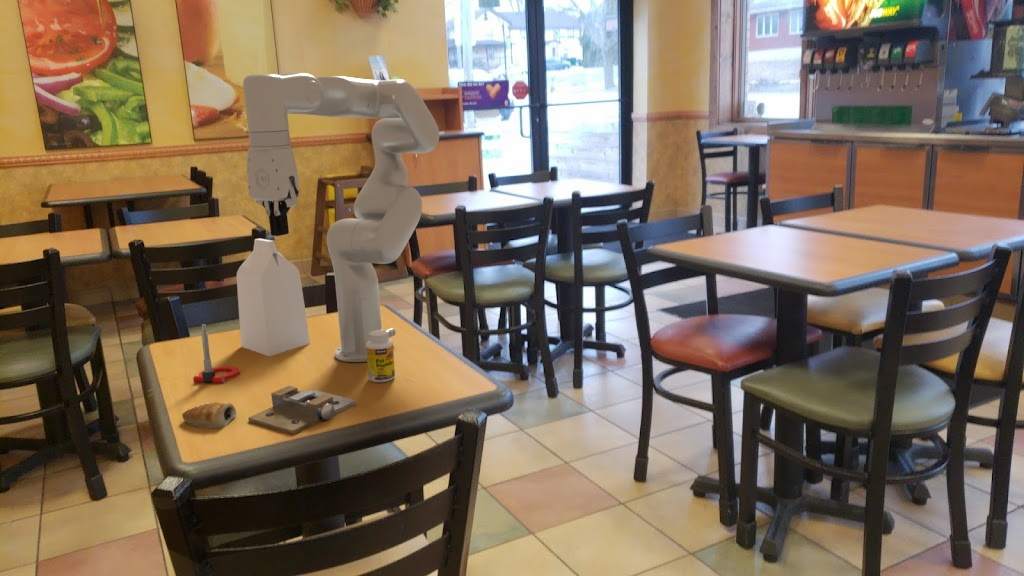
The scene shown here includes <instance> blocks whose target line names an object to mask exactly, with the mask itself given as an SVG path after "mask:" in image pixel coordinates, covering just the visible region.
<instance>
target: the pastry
mask: <svg viewBox="0 0 1024 576" xmlns="http://www.w3.org/2000/svg"><path fill="white" fill-rule="evenodd" d="M236 416H237V409H236V407H235V406H234V405H233V404H232V403H231V402H227V403H224V402H218V401H216V402H214V401H213V402H210V403H204V404H200V405H199V406H194V407H191V408H189V409H187V410H185V411H184V412H183V413H182V419H183V421H184V422H185V423H186V424H187V423H188V425H192V426H194V427H196V428H207V429H222V428H223V427H226V426H227V425H228V424H229V423H230V422H231V421H232V420H233V419H234V418H235V417H236Z"/></svg>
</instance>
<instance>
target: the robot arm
mask: <svg viewBox="0 0 1024 576" xmlns="http://www.w3.org/2000/svg"><path fill="white" fill-rule="evenodd" d="M242 81H243V82H242V88H243V97H244V104H245V112H246V113H245V114H246V123H247V132H248V140H249V148H248V149H247V158H246V160H247V161H246V169H247V170H246V174H247V187H248V188H247V189H248V195H249V197H250V198H251V199H252V200H255V202H256V204H258V205H260V206H262V207H263V208H264V209H265V214H266V215H267V216H268V223H269V230H270V235H271V236H273V237H281V236H285V235H288V234H289V232H290V231H289V220H288V214H289V213H290V209H291V207H292V208H293V207H295V206H297V205H298V200H297V198H298V197H299V195H300V181H299V173H298V168H297V163H296V159H295V154H294V151H293V148H292V147H291V146H292V145H291V137H290V127H289V126H290V125H289V117H288V115H289V114H290V115H311V116H318V117H319V116H320V117H326V118H327V117H328V118H329V117H331V118H332V117H333V118H355V119H356V118H357V119H371V120H372V119H373V120H374V119H376V120H377V119H379V120H377V121H376V122H375V124H374V125H373V127H372V130H371V142H372V147H373V153H374V160H375V162H374V163H375V164H374V167H373V170H372V171H371V173H370V175H369V177H368V178H367V180H366V181H365V183H364V185H363V186H362V188H361V190H360V191H359V193H358V194H357V196H356V199H355V201H354V204H353V213H354V216H355V217H356V218H352V217H351V218H350V217H348V218H342V219H339V220H337V221H335V222H333V223H332V224H331V226H330V227H329V229H328V230H327V234H326V246H327V247H326V248H327V249H328V253H329V256H330V260H331V264H332V268H333V274H334V281H335V292H336V293H335V295H336V302H337V303H336V304H337V314H338V317H337V318H338V327H339V337H340V346H338V347H337V348H336V349H335V350H334V356H335V359H337V360H339V361H342V362H348V363H363V362H366V363H367V351H366V343H367V342H368V341H370V340H369V333H370V332H372V331H376V330H383V329H382V317H381V316H382V315H381V302H380V292H379V279H378V275H377V272H376V269H375V267H374V265H373V264H380V265H381V264H382V265H383V264H384V265H385V264H386V265H387V264H392V263H393V262H395V261H396V260H397V259H398V258H399V257H400V256H401V254H403V251H404V249H405V248H406V246H407V244H408V242H409V240H410V238H411V237H412V235H413V233H414V231H415V230H416V228H417V226H418V224H419V222H420V220H421V218H422V217H421V215H422V212H423V202H422V201H423V200H422V198H421V197H422V196H421V194H420V193H419V191H418V190H417V189H416V188H414V187H413V186H410V185H408V181H409V172H408V168H407V167H406V165H405V163H404V161H403V157H402V154H427V153H428V154H429V153H430V152H432V151H434V150H435V149H436V148H437V146H438V145H439V141H440V130H439V126H438V124H437V122H436V120H435V118H434V117H433V114H432V113H431V111H430V110H429V108H428V107H427V104H426V103H425V102H424V99H423V98H422V96H421V95H420V94H419V92H418V91H417V89H416V88H414V86H413V85H412V84H411V83H409V82H408V81H407V80H404V79H397V78H396V79H368V78H367V79H366V78H357V77H350V76H343V75H342V76H341V75H340V76H337V75H332V76H331V75H330V76H319V77H315V76H314V75H312V74H309V73H306V72H291V73H290V72H287V73H286V72H285V73H270V74H268V73H267V74H264V73H263V74H262V73H261V74H259V73H258V74H251V75H247V76H245V77H244V79H243V80H242ZM386 331H388V335H389V339H390V338H392V337H394V336H395V335H396V330H395V328H393V327H392V328H388V329H386Z"/></svg>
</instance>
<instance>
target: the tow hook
mask: <svg viewBox="0 0 1024 576" xmlns="http://www.w3.org/2000/svg"><path fill="white" fill-rule="evenodd" d="M201 332H202V334H201V342H202V351H203V369H204V370H202V371H200V372H199V374H198V375H194V376H193V382H194V383H197V384H198V383H200V384H201V383H202V384H212V385H213V384H225V383H226V380H227V381H228V380H230V379H233V378H235V377H238V376H239V375H240V374H241V371H240V368H239V367H237V366H231V365H230V366H227V365H226V366H224V365H223V366H216V367H212V359H211V355H210V354H211V353H210V345H209V337H208V336H209V335H208V333H207V326H206V324H205V323H202V324H201ZM220 372H228V373H226V374H222V375H220V374H219V375H218V376H216V373H220Z"/></svg>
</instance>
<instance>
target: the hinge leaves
mask: <svg viewBox="0 0 1024 576" xmlns="http://www.w3.org/2000/svg"><path fill="white" fill-rule="evenodd" d="M270 394H271V395H270V396H271V403H272V407H270V408H267V409H265V410H263V411H260V412H257V413H256V414H253V415H251V416H249V417H248V423H252V424H256V425H259V426H262V427H266V428H269V429H272V430H276V431H279V432H282V433H286V434H289V435H292V436H293V435H294V436H295V434H298V433H299V432H302V431H304V430H306V429H309V428H311V427H312V426H314V425H316V424H318V423H320V422H322V421H324V420H326V419H322V418H321V416H319V411H318V407H319V406H321V405H323V404H325V403H330V404H332V405H333V406H334V408H335V412H334V415H337V414H338V413H341V412H343V411H345V410H347V409H348V408H351V407H352V406H356V404H357V401H356V399H352V398H349V397H344V396H341V395H336V394H332V393H328V392H324V391H320V390H318V389H317V390H316V389H309V390H307V389H306V390H303V391H300V390H299V389H298V387H295V386H291V385H287V386H285V387H283V388H280V389H278V390H275V391H273V392H271V393H270ZM287 395H291V397H289V399H287V398H283V397H284V396H287ZM303 400H310V401H308V402H306V403H302V402H301V401H303ZM334 415H333V416H334Z"/></svg>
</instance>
